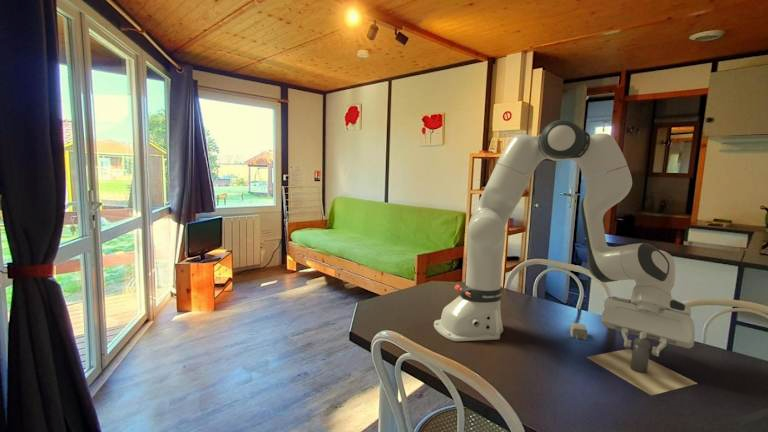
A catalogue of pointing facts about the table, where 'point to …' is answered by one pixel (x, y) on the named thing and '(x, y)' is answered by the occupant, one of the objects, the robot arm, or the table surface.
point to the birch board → (649, 382)
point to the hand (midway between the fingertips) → (640, 350)
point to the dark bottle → (640, 353)
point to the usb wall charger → (578, 331)
